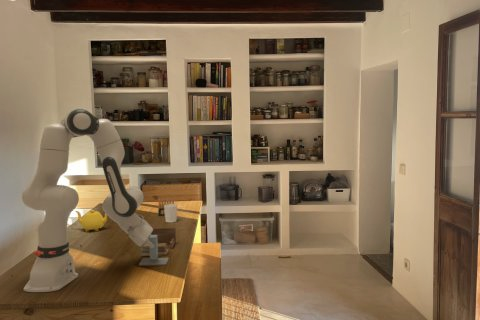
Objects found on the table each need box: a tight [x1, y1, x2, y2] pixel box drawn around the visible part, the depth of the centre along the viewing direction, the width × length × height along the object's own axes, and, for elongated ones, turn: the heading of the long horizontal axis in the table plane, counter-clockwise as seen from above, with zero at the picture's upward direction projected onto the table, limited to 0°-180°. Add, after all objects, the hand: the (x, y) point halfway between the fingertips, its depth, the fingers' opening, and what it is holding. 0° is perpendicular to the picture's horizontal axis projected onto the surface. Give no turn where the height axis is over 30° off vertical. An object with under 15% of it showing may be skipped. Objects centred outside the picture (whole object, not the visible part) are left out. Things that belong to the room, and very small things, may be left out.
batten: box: [148, 235, 159, 259], centre depth 196 cm, size 4×3×10 cm
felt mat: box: [138, 257, 170, 266], centre depth 197 cm, size 8×12×1 cm, turn 91°
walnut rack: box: [151, 227, 177, 249], centre depth 221 cm, size 10×13×8 cm
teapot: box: [75, 209, 108, 232], centre depth 255 cm, size 20×15×12 cm
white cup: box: [164, 203, 178, 223], centre depth 270 cm, size 8×8×10 cm
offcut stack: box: [140, 243, 169, 257], centre depth 208 cm, size 5×12×4 cm, turn 91°
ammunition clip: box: [157, 197, 175, 217], centre depth 285 cm, size 11×2×12 cm, turn 89°
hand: (154, 245), depth 196 cm, fingers closed on batten, 4 cm apart
